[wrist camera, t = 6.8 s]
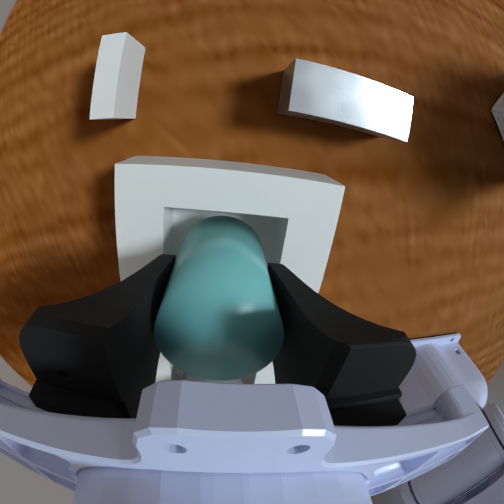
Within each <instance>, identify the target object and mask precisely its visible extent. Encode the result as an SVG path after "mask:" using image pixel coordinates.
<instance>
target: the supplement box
mask: <svg viewBox="0 0 504 504" xmlns="http://www.w3.org/2000/svg"><path fill="white" fill-rule="evenodd" d="M491 112H492V113H493V115H494V118H495V120H496V122H497V125H498V127H499V130H500V132H501V135H502V138H503V141H504V92H503V94H502V95H501V97H500V98H499V99H498V101H497V102H496V103H495V105H494V106H493V107H492V109H491Z"/></svg>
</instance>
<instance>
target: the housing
mask: <svg viewBox="0 0 504 504" xmlns="http://www.w3.org/2000/svg"><path fill="white" fill-rule="evenodd" d="M344 190H345V186H344V185H342V184H340V183H339V182H337V181H335V180H333V179H332V178H330V177H328V176H326V175H324V174H320V173H314V172H308V171H302V170H295V169H289V168H282V167H275V166H267V165H259V164H251V163H242V162H232V161H222V160H210V159H197V158H182V157H161V156H134V157H132V158H129V159H126V160H124V161H121V162H118V163H116V164H115V223H116V240H117V253H118V264H119V273H120V282H121V281H123V280H124V279H126V278H127V277H129V276H131V275H132V274H134V273H135V272H137V271H138V270H140V269H141V268H143V267H144V266H145V265H147V264H148V263H150V262H151V261H152V260H154V259H155V258H156V257H158V256H159V255H161V254H169V255H176V258H177V255H178V252H179V250H180V247H181V244H182V241H183V239H184V237H185V235H186V233H187V232H188V231H189V229H190V228H191V227H192V226H193V225H195V224H196V223H198V222H199V221H201V220H203V219H205V218H208V217H212V216H230V217H234V218H237V219H239V220H241V221H243V222H245V223H246V224H248V225H249V226H250V227H251V228H252V229H253V230H254V231H255V232H256V234H257V235H258V237H259V239H260V242H261V245H262V249H263V253H264V256H265V260H266V264H267V267H268V263H278V264H283V265H284V266H286V267H287V268H288V269H289V270H290V271H291V272H293V273H294V274H295V275H296V276H297V277H298V278H299V279H301V280H302V281H303V282H304V283H305V284H306V285H308V286H309V287H310V288H311V289H313V290H314V291H315V292H317V293H319V289H320V286H321V282H322V279H323V275H324V272H325V268H326V264H327V261H328V257H329V253H330V249H331V245H332V242H333V238H334V234H335V230H336V225H337V221H338V217H339V213H340V208H341V204H342V199H343V195H344ZM170 380H183V371H181V370H179V369H178V368H176V367H175V366H173V365H172V364H171V363H170V362H169V361H168V360H167V359H166V358H165V357H164V356H163V355H162V353H160V357H159V361H158V367H157V374H156V381H155V383H156V382H158V381H170ZM242 382H243V384H275V376H274V367H273V362H271V363H270V364H269V365H268V366H266V367H265V368H263V369H262V370H260V371H258V372H257V373H254V374H252V375H250V376H247V377H244V378H242Z"/></svg>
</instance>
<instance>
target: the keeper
mask: <svg viewBox="0 0 504 504" xmlns="http://www.w3.org/2000/svg"><path fill="white" fill-rule="evenodd" d="M144 54H145V47H144V46H142V45H141V44H140V43H139V42H138V41H137V40H135V39H134V38H133V37H132V36H131V35H129V34H128V33H127V32H124V33H116V34H110V35H103V36H102V39H101V43H100V48H99V53H98V58H97V64H96V70H95V76H94V83H93V90H92V98H91V108H90V119H136V109H137V100H138V92H139V85H140V78H141V71H142V65H143V59H144ZM90 119H89V120H90Z"/></svg>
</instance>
